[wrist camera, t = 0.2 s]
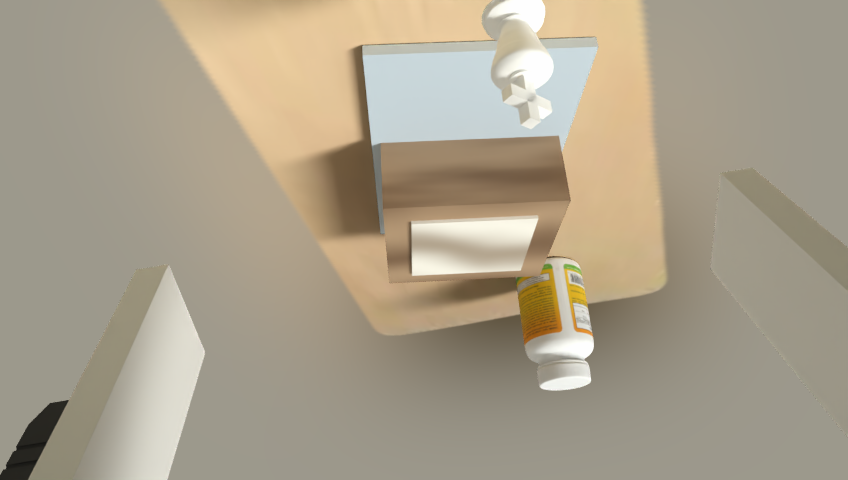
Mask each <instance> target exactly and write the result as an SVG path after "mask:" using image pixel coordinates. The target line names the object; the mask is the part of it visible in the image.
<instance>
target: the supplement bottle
mask: <svg viewBox="0 0 848 480" xmlns="http://www.w3.org/2000/svg"><path fill="white" fill-rule="evenodd" d="M516 285H517V292H518V299H519V307H520V314H521V321H522V329H523V336H524V344H525V350H526V354H527V356H528V357H529V358H530V359H531V360H532V361H534V362H536V363H539V367H538V368H537V376H538V382H539V386H540V388H542V389H545V390H567V389H574V388H578V387H581V386H585V385H587V384H589V383H590V382H591V376H590V368H589V366H588V363H587V362H586V361H585V360H584V358H586V357H587V356H588V355H590V354H591V352H592V350H593V348H594V341H593V335H592V329H591V324H590V318H589V312H588V307H587V301H586V295H585V290H584V284H583V279H582V274H581V269H580V266H579V265H578V263H577V262H575V261H574V260H571V259H568V258H562V257H553V258H547V259H546V261H545V264H544V266H543V269H542V271H541V273H540V276H529V277H516Z"/></svg>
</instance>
